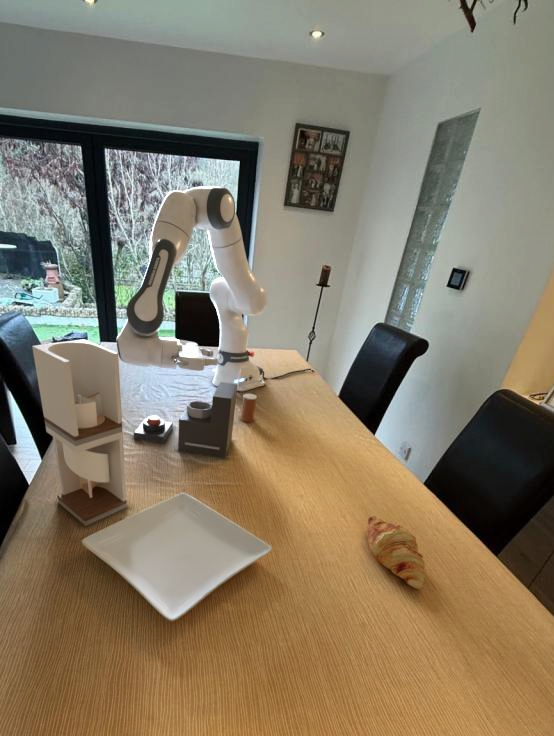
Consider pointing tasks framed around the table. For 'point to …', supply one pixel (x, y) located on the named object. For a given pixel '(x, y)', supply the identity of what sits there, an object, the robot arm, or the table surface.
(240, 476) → the table surface
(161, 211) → the robot arm
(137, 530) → the square plate
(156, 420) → the brew button
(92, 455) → the spiral staircase model
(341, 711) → the table surface
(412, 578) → the croissant
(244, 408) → the coffee pod
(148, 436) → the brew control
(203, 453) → the coffee maker
